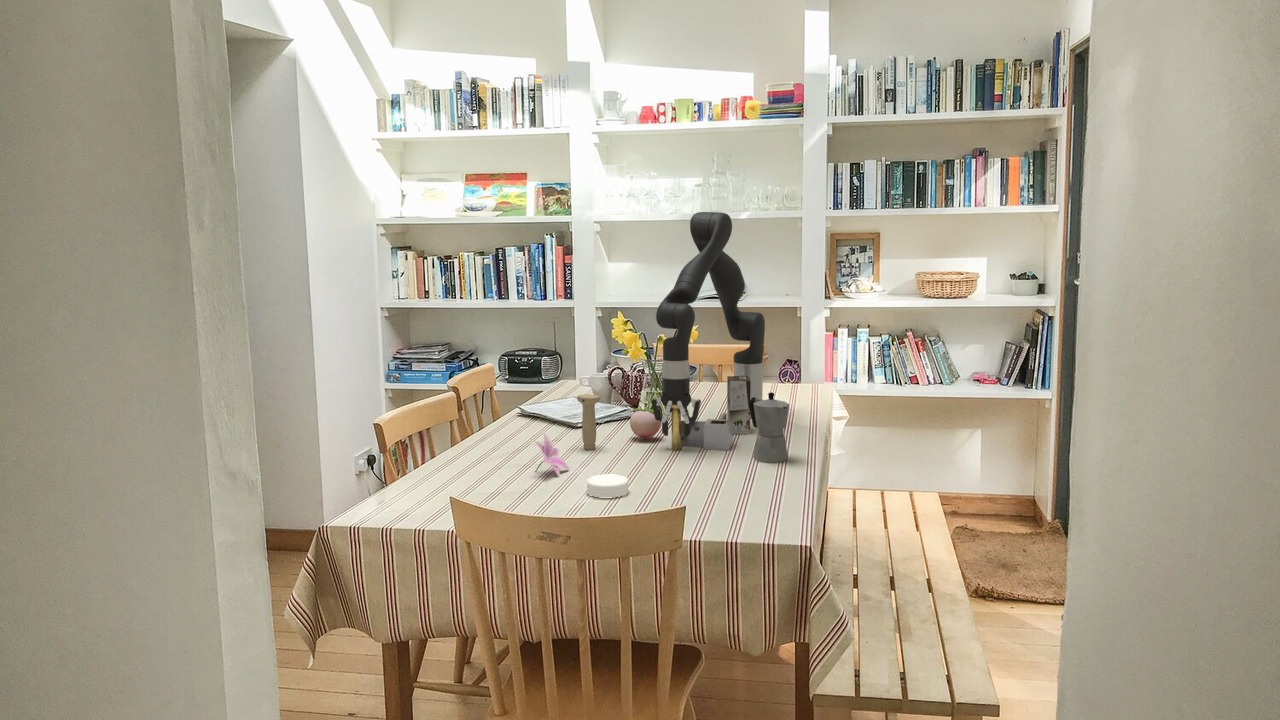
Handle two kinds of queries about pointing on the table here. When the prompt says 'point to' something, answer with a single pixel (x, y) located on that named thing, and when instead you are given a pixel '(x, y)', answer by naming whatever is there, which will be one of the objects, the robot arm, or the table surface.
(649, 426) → the decorative fruit
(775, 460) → the coffeepot
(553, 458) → the lily
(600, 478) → the white round disc
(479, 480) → the table surface
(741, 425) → the coffee box
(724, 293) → the robot arm
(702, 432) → the grey corner bracket
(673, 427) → the hinge pin
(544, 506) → the table surface
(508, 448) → the table surface
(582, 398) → the handle
